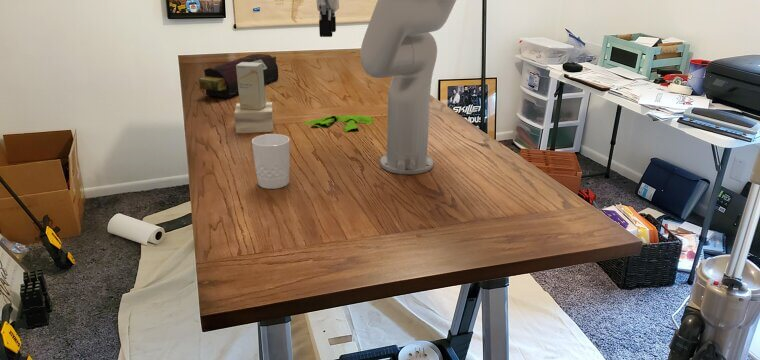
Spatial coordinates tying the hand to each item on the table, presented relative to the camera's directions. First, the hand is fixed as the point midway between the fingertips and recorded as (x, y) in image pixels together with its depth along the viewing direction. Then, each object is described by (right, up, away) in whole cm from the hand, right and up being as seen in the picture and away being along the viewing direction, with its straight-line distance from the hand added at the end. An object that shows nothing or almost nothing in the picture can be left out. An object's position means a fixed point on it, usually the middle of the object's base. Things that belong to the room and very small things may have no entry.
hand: (328, 34), depth 147 cm
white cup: (-10, -39, -23) cm, 46 cm away
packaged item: (-35, -6, +54) cm, 64 cm away
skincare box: (-22, -18, +10) cm, 30 cm away
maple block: (-22, -23, +13) cm, 34 cm away
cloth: (+1, -23, +16) cm, 28 cm away
